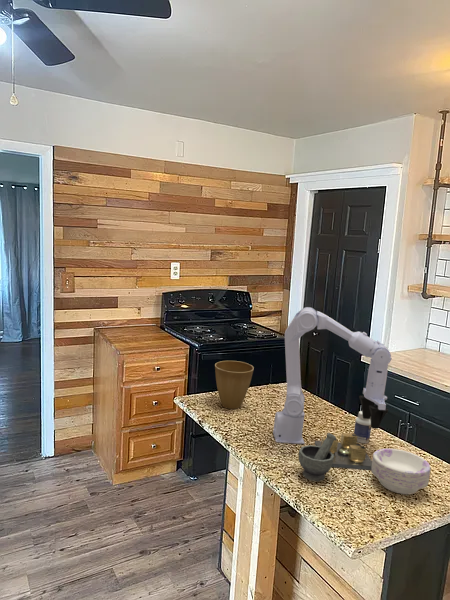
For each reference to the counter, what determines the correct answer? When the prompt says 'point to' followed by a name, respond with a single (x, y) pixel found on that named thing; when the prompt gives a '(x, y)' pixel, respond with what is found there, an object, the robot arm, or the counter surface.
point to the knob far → (348, 440)
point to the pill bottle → (362, 428)
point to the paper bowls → (400, 470)
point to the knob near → (357, 453)
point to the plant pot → (233, 382)
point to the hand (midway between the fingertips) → (370, 423)
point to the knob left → (334, 445)
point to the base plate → (347, 459)
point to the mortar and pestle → (317, 459)
